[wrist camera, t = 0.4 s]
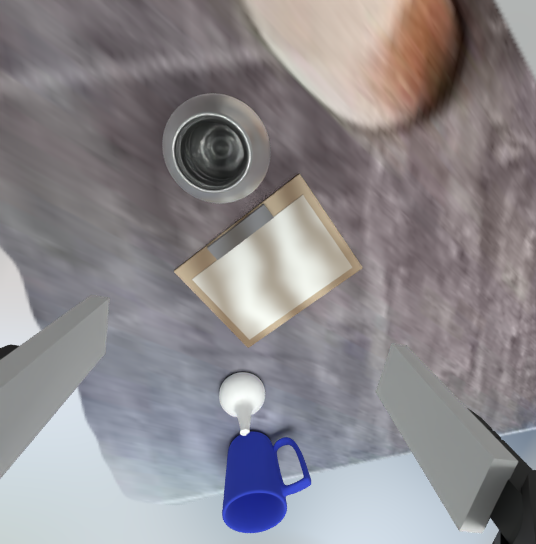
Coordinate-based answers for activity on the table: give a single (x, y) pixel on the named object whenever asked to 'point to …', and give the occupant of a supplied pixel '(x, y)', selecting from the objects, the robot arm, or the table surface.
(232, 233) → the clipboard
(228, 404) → the garlic bulb
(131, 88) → the table surface
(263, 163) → the plastic bottle
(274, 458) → the mug
